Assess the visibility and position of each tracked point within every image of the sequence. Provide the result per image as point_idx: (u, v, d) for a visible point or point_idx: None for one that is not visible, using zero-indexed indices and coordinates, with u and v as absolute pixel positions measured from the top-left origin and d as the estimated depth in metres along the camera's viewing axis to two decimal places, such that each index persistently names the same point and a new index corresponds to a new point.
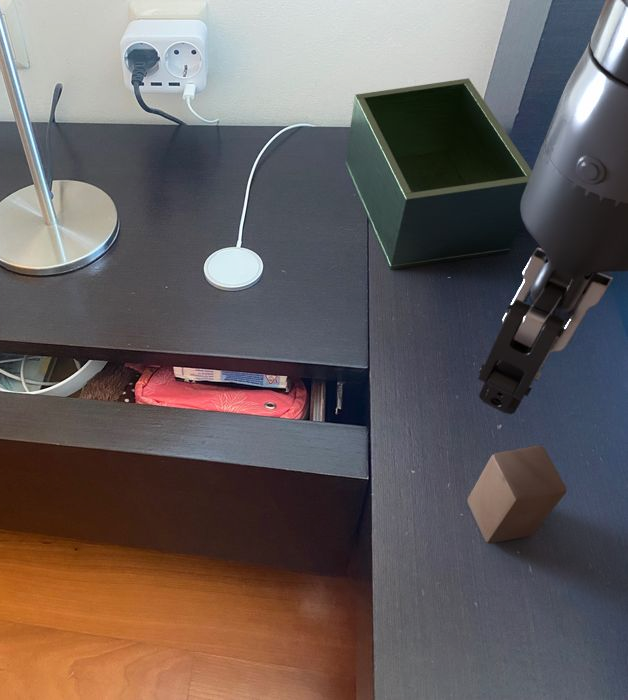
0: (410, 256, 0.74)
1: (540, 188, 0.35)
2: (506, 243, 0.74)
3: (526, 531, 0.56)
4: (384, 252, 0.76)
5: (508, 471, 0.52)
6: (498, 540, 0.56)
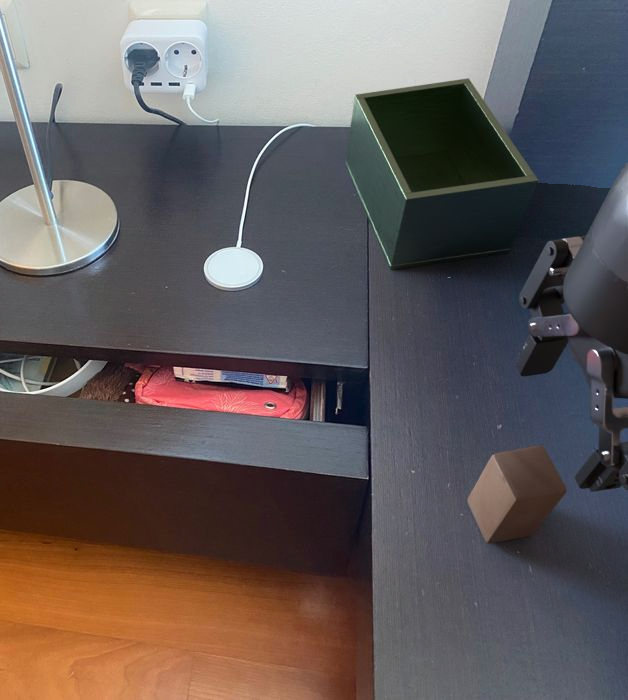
0: (410, 256, 0.74)
1: None
2: (506, 243, 0.74)
3: (526, 531, 0.56)
4: (384, 252, 0.76)
5: (508, 471, 0.52)
6: (498, 540, 0.56)
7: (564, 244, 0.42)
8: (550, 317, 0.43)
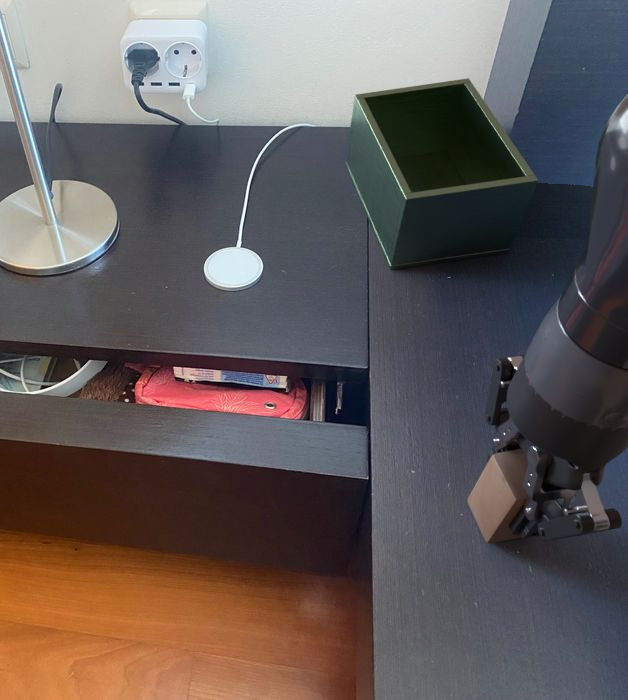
0: (410, 256, 0.74)
1: (559, 431, 0.42)
2: (506, 243, 0.74)
3: None
4: (384, 252, 0.76)
5: (508, 471, 0.52)
6: (498, 540, 0.56)
7: (507, 360, 0.51)
8: (503, 424, 0.51)
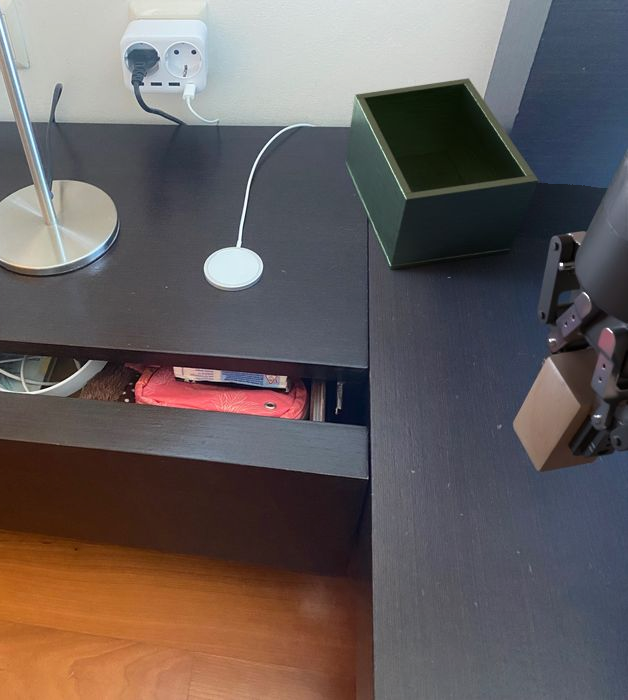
0: (410, 256, 0.74)
1: None
2: (506, 243, 0.74)
3: None
4: (384, 252, 0.76)
5: (568, 374, 0.42)
6: (553, 467, 0.47)
7: (567, 236, 0.42)
8: (564, 314, 0.42)
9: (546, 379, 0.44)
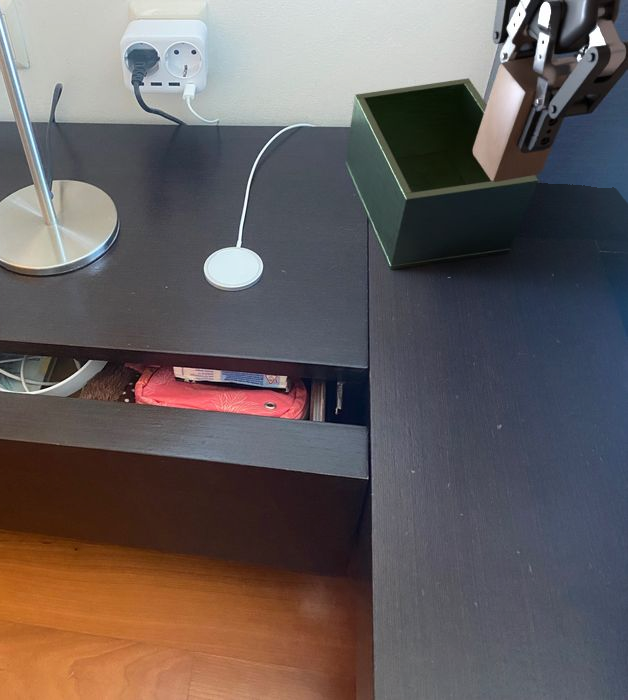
0: (410, 256, 0.74)
1: None
2: (506, 243, 0.74)
3: (534, 162, 0.54)
4: (384, 252, 0.76)
5: (516, 72, 0.50)
6: (505, 175, 0.54)
7: None
8: (512, 16, 0.49)
9: (498, 85, 0.51)
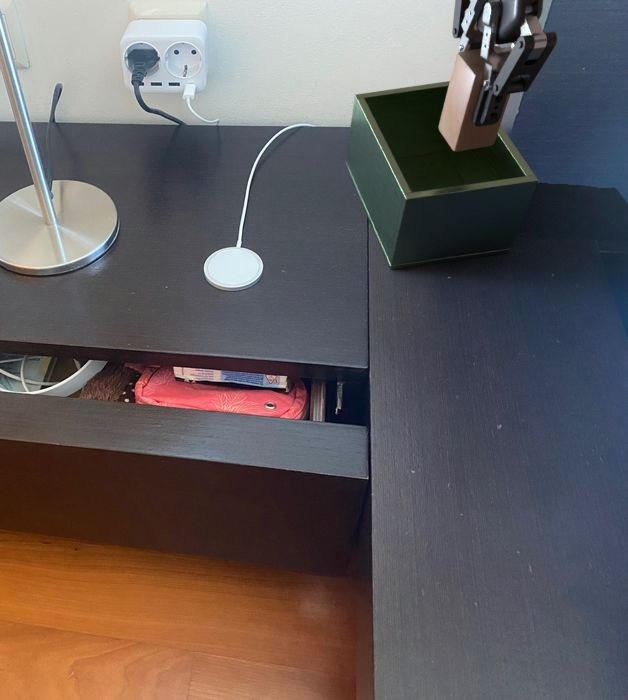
0: (410, 256, 0.74)
1: None
2: (506, 243, 0.74)
3: (487, 135, 0.65)
4: (384, 252, 0.76)
5: (469, 59, 0.62)
6: (464, 146, 0.66)
7: None
8: (465, 15, 0.61)
9: (456, 71, 0.63)
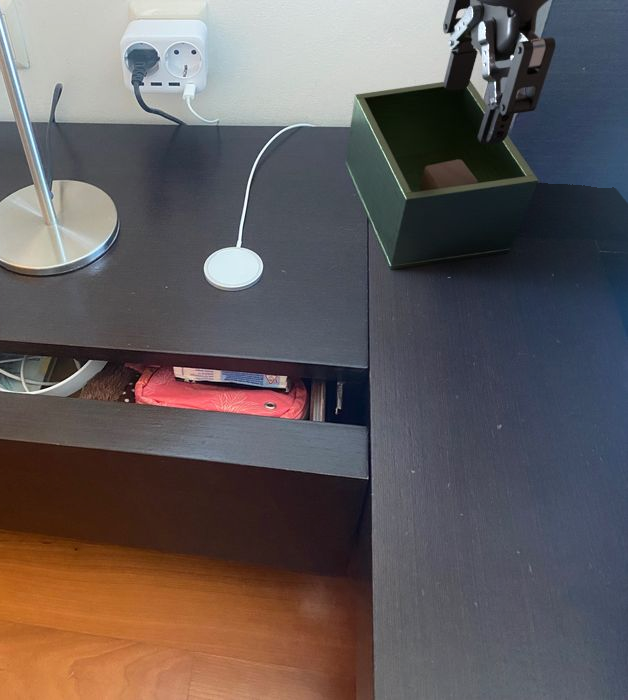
0: (410, 256, 0.74)
1: None
2: (506, 243, 0.74)
3: None
4: (384, 252, 0.76)
5: (436, 174, 0.71)
6: None
7: None
8: (459, 21, 0.62)
9: (424, 181, 0.73)
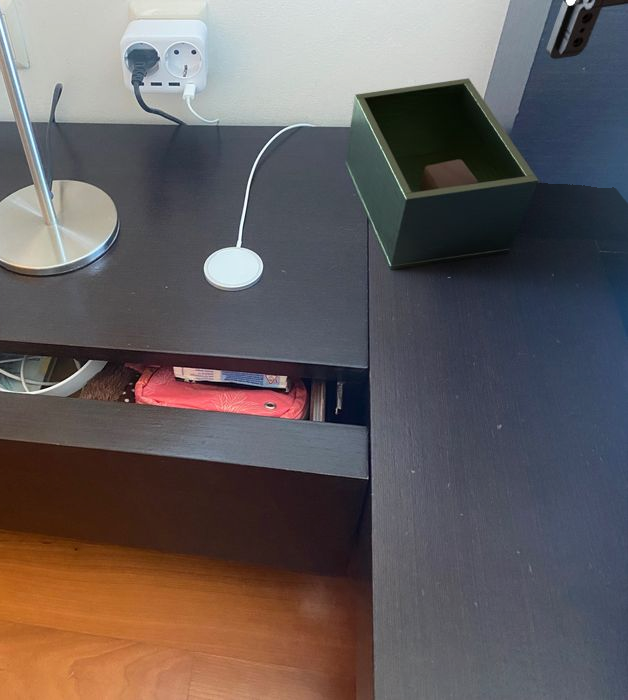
0: (410, 256, 0.74)
1: None
2: (506, 243, 0.74)
3: None
4: (384, 252, 0.76)
5: (436, 174, 0.71)
6: None
7: None
8: None
9: (424, 181, 0.73)
